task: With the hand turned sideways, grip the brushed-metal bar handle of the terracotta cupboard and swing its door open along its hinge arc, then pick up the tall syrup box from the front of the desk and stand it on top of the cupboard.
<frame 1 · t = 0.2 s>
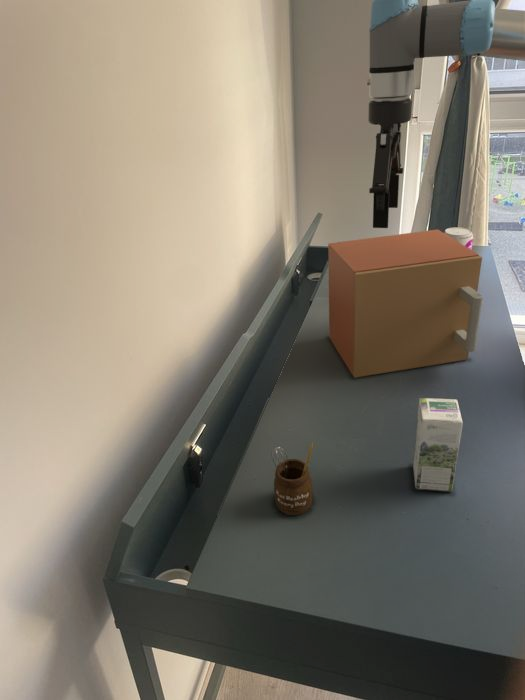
hand: (385, 217, 104), 32 cm above the table, tool pointing down, fingers open, 13 cm apart
syrup box: (431, 480, 86), on the table
cabinet: (393, 346, 124), on the table
supplement can: (452, 281, 154), on the table
utensil holder: (294, 503, 84), on the table
cabinet door: (420, 325, 107), point 12 cm above the table, hinge at 0.0°
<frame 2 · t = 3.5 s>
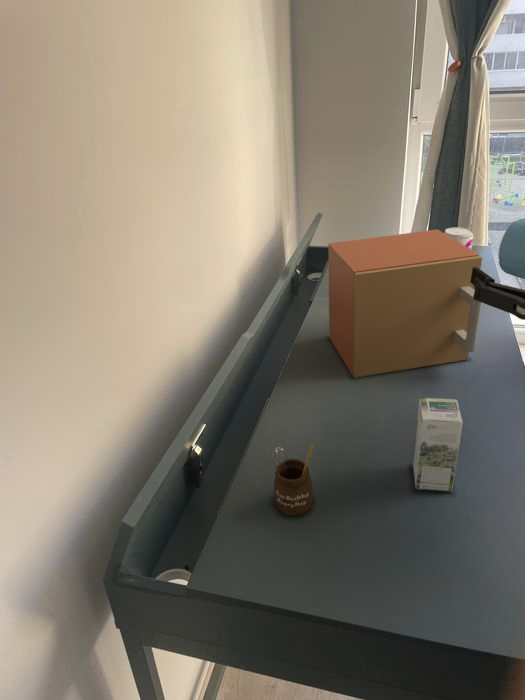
hand: (511, 272, 91), 26 cm above the table, tool horizontal, fingers open, 13 cm apart
nothing on the table moved.
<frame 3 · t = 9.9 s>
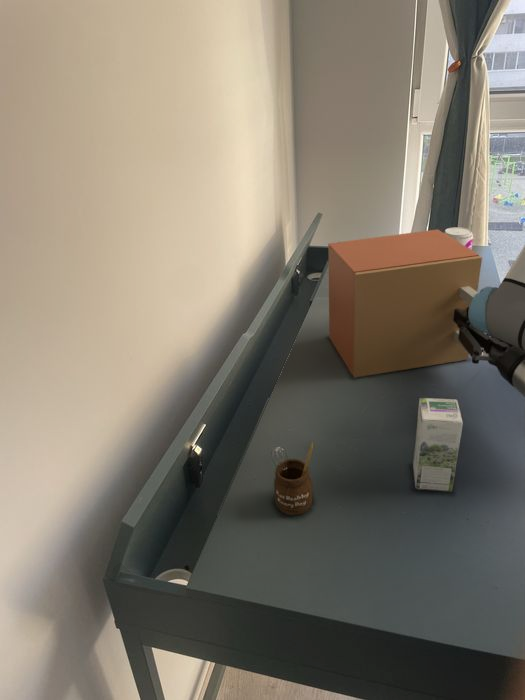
hand: (461, 313, 110), 12 cm above the table, tool horizontal, fingers closed on cabinet door, 2 cm apart
cabinet door: (421, 325, 107), point 12 cm above the table, hinge at 0.0°, touching gripper
everything else where it was.
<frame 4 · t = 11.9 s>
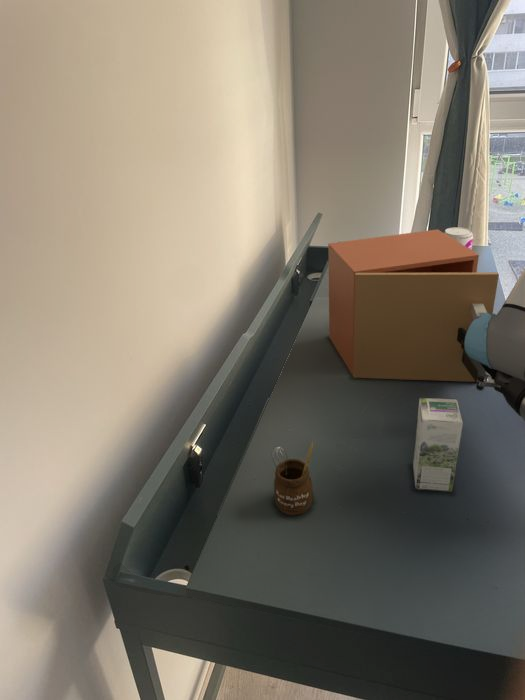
hand: (466, 333, 103), 12 cm above the table, tool horizontal, fingers open, 2 cm apart
cabinet door: (421, 336, 103), point 12 cm above the table, hinge at 19.9°, touching gripper
everything else where it was.
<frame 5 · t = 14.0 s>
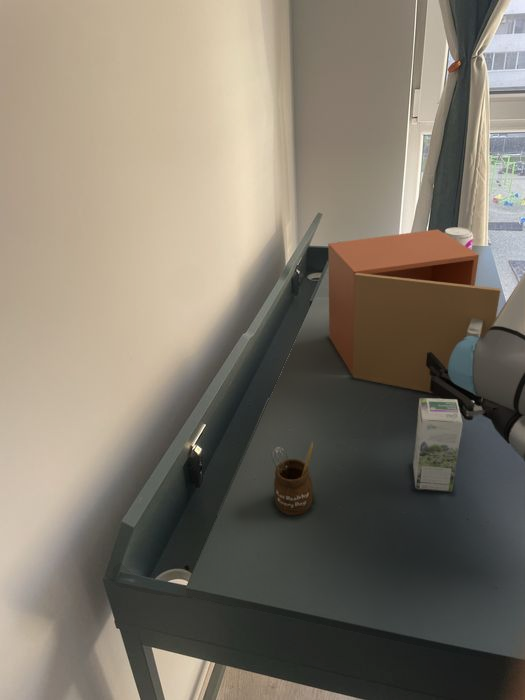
hand: (455, 354, 96), 12 cm above the table, tool horizontal, fingers open, 10 cm apart
cabinet door: (415, 345, 100), point 12 cm above the table, hinge at 36.5°, touching gripper
everything else where it was.
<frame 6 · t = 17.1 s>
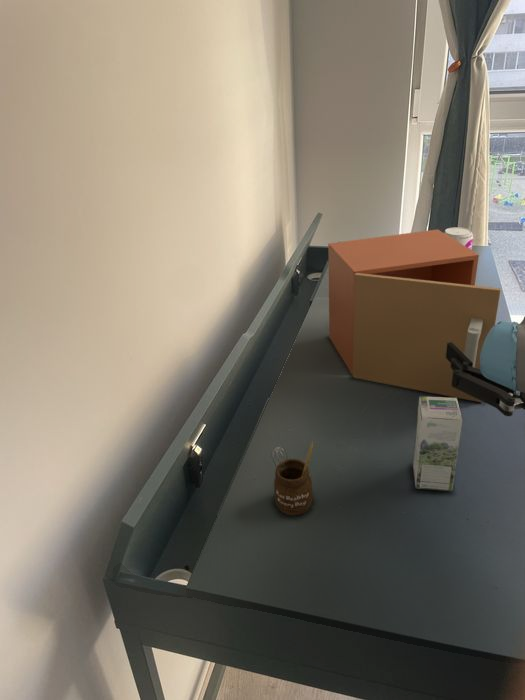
hand: (488, 343, 85), 19 cm above the table, tool horizontal, fingers open, 13 cm apart
cabinet door: (415, 344, 100), point 12 cm above the table, hinge at 36.3°
everything else where it was.
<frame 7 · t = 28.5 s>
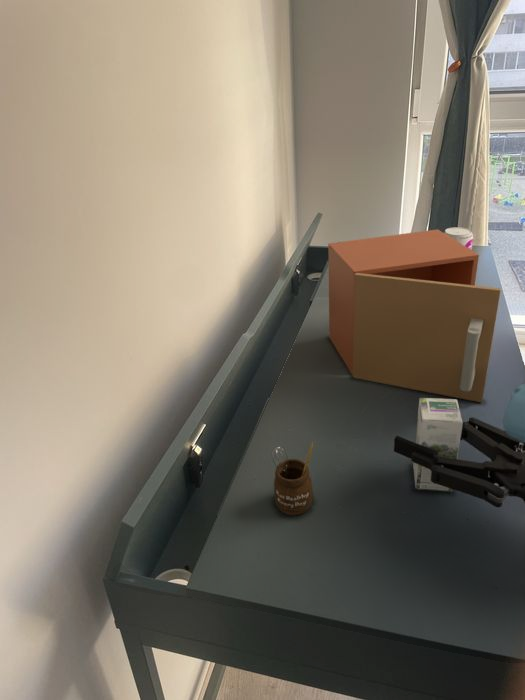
hand: (407, 430, 85), 8 cm above the table, tool horizontal, fingers closed on syrup box, 7 cm apart
syrup box: (431, 480, 86), on the table, touching gripper
everything else where it was.
when the fingers open (32 cm above the table, at t = 41.5 s): syrup box stays where it is, resting on cabinet.
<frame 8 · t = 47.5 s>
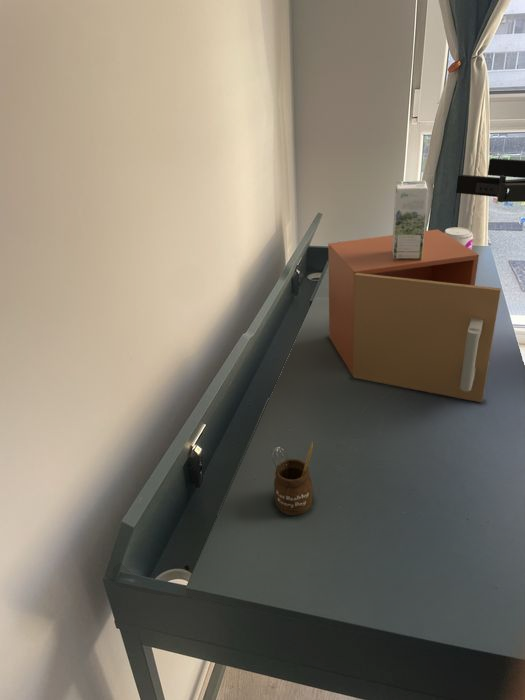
hand: (474, 174, 88), 42 cm above the table, tool horizontal, fingers open, 13 cm apart
syrup box: (406, 256, 108), point 24 cm above the table, touching cabinet
everything else where it was.
at the end: cabinet door at +36° (first picture: +0°); syrup box inside the target area on the cabinet (0.0 cm from its centre), point 23.8 cm above the cabinet's base; syrup box tilted 0° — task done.
